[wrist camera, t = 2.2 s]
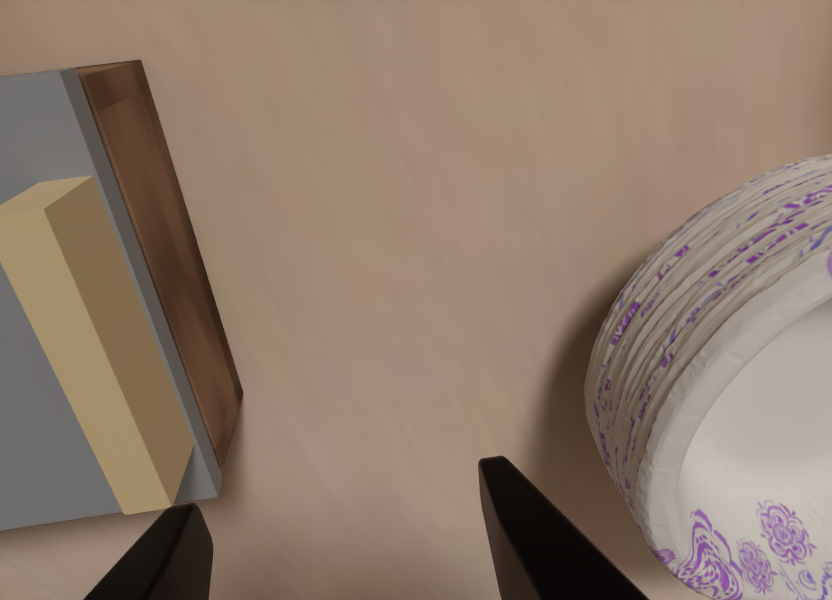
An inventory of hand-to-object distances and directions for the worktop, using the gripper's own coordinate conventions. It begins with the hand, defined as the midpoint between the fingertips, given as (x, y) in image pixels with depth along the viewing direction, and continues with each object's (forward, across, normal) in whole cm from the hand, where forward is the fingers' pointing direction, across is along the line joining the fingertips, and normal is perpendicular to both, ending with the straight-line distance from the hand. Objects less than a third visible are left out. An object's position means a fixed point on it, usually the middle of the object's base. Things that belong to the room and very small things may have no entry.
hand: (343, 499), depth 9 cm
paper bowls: (+12, -15, +6) cm, 20 cm away
